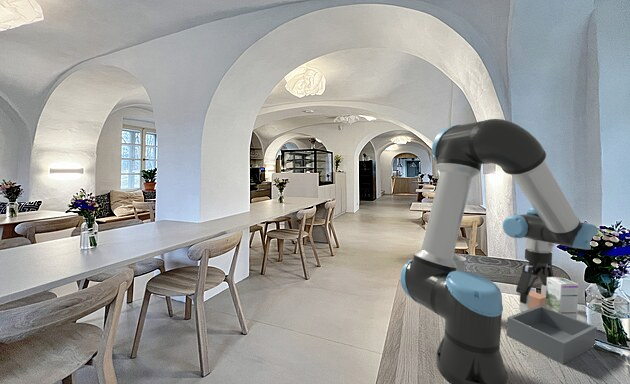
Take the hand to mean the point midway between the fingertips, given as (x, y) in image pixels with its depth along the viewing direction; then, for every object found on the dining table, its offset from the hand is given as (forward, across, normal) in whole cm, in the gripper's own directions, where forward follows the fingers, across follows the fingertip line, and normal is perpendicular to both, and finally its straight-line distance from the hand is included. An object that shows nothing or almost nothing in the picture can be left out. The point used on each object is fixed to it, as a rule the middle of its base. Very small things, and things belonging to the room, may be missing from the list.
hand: (535, 307), depth 98 cm
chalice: (0, -25, +14) cm, 29 cm away
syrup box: (0, -4, -9) cm, 10 cm away
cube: (0, 0, 0) cm, 0 cm away
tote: (0, -18, -12) cm, 22 cm away
